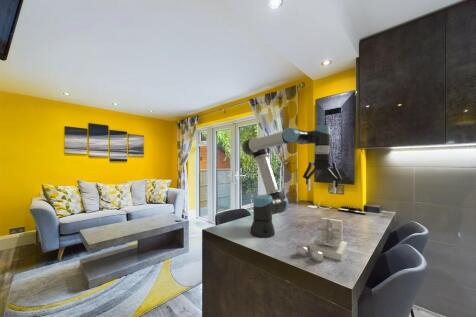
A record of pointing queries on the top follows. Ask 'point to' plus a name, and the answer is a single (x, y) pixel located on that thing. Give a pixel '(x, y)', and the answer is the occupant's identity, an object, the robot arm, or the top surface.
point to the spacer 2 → (317, 256)
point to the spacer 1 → (302, 251)
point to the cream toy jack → (328, 229)
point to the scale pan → (332, 242)
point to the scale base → (330, 250)
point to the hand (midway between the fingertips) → (321, 191)
